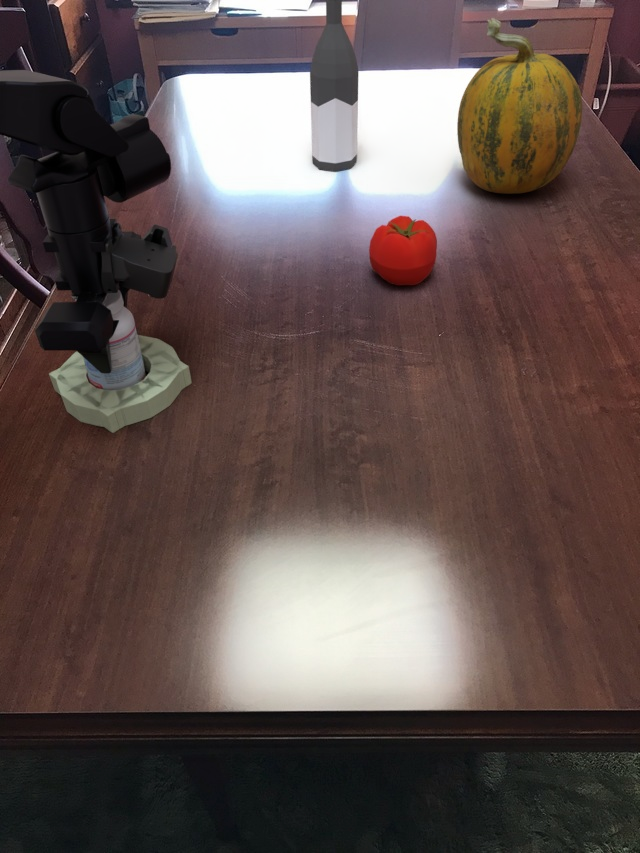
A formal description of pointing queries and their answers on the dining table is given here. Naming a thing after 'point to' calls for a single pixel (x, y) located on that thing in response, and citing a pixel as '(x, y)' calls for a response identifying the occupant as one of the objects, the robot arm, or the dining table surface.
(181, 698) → the dining table surface
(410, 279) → the tomato
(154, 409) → the socket pad
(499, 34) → the pumpkin
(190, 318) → the dining table surface
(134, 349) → the pill bottle
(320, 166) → the wine bottle
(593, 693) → the dining table surface
